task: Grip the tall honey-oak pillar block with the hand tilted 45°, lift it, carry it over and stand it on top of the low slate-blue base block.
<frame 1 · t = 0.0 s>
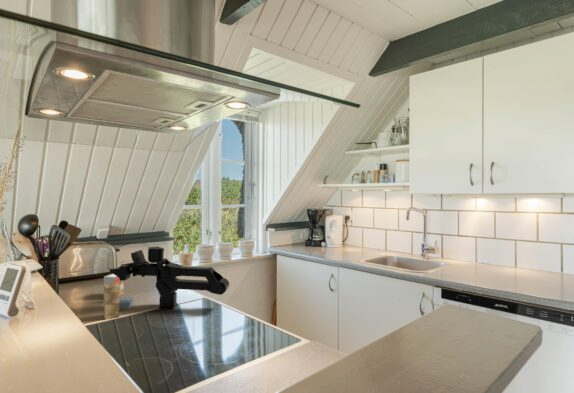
hand: (115, 267, 159), 17 cm above the counter, tool horizontal, fingers open, 9 cm apart
oak pillar: (111, 316, 144), on the counter
small box: (113, 296, 170), on the counter
slate base block: (121, 306, 157), on the counter
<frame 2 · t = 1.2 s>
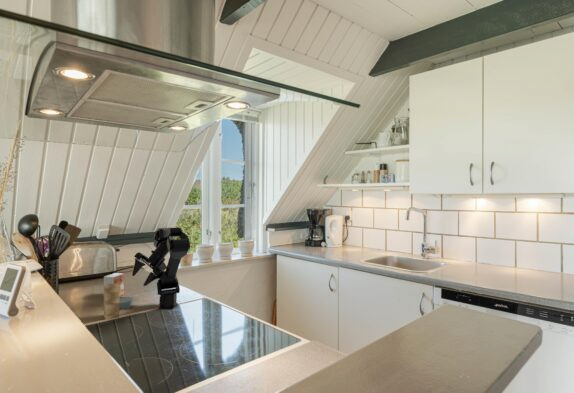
hand: (138, 280, 160), 11 cm above the counter, tool tilted 35°, fingers open, 9 cm apart
nothing on the counter moved.
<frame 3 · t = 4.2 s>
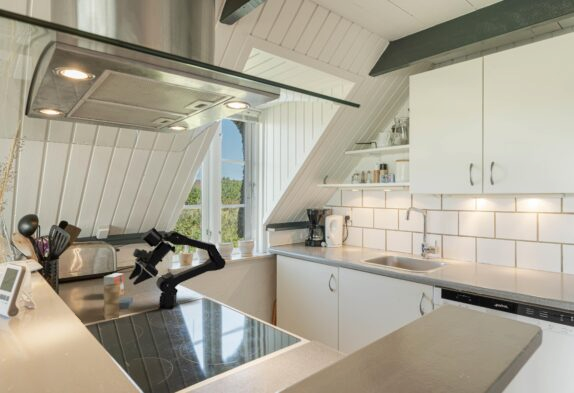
hand: (131, 281, 148), 14 cm above the counter, tool tilted 45°, fingers open, 9 cm apart
nothing on the counter moved.
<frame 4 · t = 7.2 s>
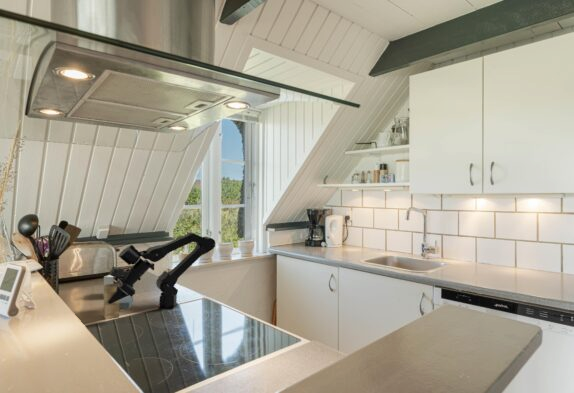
hand: (107, 301, 143), 7 cm above the counter, tool tilted 45°, fingers closed on oak pillar, 5 cm apart
oak pillar: (111, 316, 144), on the counter, touching gripper
everything else where it was.
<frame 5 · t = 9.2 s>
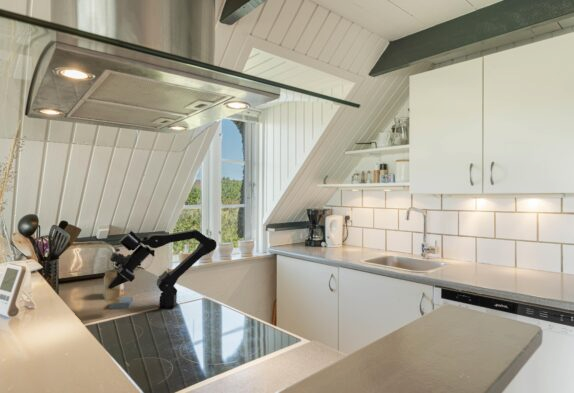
hand: (108, 286, 144), 12 cm above the counter, tool tilted 45°, fingers closed on oak pillar, 5 cm apart
oak pillar: (112, 301, 145), point 6 cm above the counter, touching gripper
everything else where it was.
when the fingers open (11 cm above the counter, at t = 11.2 s): oak pillar drops 2 cm, resting on slate base block.
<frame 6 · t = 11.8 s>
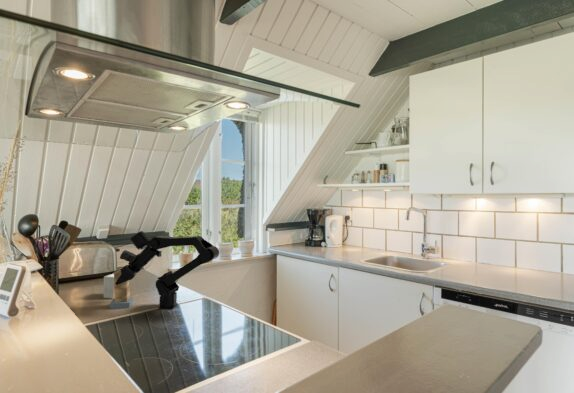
hand: (118, 281, 156), 11 cm above the counter, tool tilted 45°, fingers open, 9 cm apart
oak pillar: (122, 299, 157), point 3 cm above the counter, touching slate base block
slate base block: (121, 306, 157), on the counter, touching oak pillar
everything else where it was.
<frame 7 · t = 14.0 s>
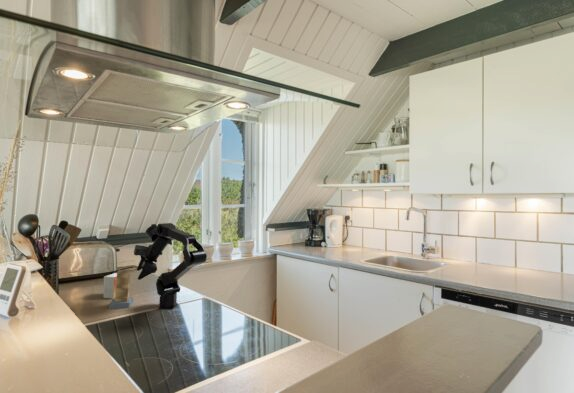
hand: (138, 274, 160), 13 cm above the counter, tool tilted 35°, fingers open, 9 cm apart
oak pillar: (121, 299, 157), point 3 cm above the counter
slate base block: (121, 306, 157), on the counter
everything else where it was.
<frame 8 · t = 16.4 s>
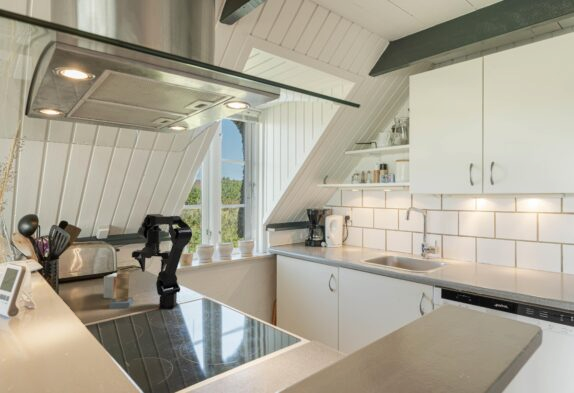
hand: (152, 272, 167), 13 cm above the counter, tool pointing down, fingers open, 9 cm apart
oak pillar: (122, 299, 157), point 3 cm above the counter, tilted 6°, touching slate base block
slate base block: (121, 306, 157), on the counter, touching oak pillar
everything else where it was.
at the end: oak pillar 0.1 cm off-centre on the slate base block, point 3.3 cm above the slate base block's base; oak pillar tilted 6°; the gripper is holding nothing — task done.
